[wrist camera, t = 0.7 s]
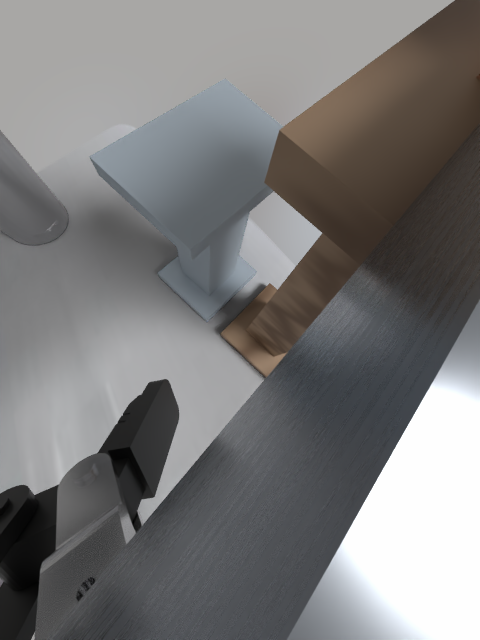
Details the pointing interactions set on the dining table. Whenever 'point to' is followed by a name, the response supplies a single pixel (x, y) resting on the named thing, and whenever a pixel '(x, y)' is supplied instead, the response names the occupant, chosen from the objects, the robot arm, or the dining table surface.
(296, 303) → the tall walnut post
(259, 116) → the low grey shelf
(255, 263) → the dining table surface
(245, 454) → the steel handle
